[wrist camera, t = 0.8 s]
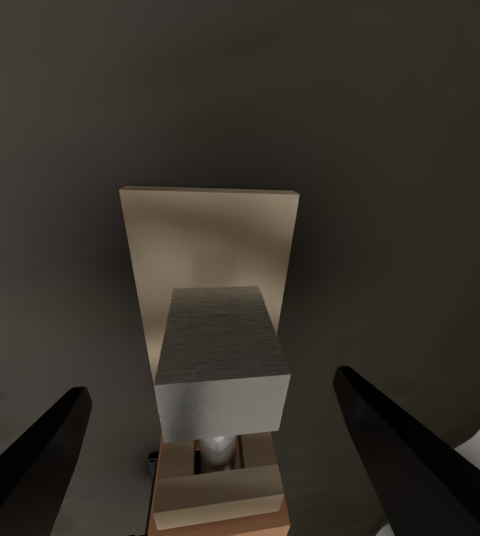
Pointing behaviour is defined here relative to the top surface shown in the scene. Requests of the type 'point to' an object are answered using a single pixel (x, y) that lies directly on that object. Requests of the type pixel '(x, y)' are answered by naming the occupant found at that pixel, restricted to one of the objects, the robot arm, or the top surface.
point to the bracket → (198, 276)
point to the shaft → (219, 371)
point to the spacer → (227, 520)
